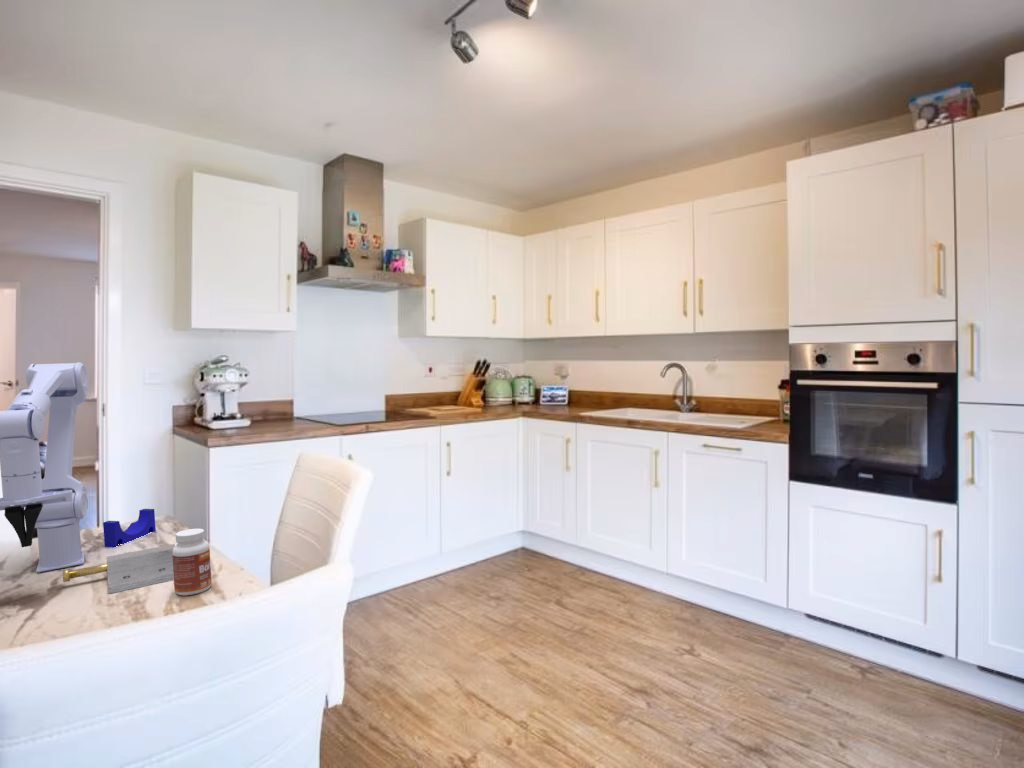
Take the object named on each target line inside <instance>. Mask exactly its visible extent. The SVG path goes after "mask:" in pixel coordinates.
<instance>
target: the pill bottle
mask: <svg viewBox="0 0 1024 768" xmlns="http://www.w3.org/2000/svg"><path fill="white" fill-rule="evenodd" d="M204 539H205V530H204V529H203V528H188V529H184V530H181V531H177V532H176V533H175V542H176V543H177V544H175V547H174V548H173V550H172V558H173V574H174V580H173V589H174V592H175V594H176V595H178V596H183V597H185V596H191V595H197V594H200V593H203V592H205V591H207V590H209V589H210V587H211V586H212V569H211V568H212V567H211V549H210V544H209V543H208V542H207V541H206V540H204Z"/></svg>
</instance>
